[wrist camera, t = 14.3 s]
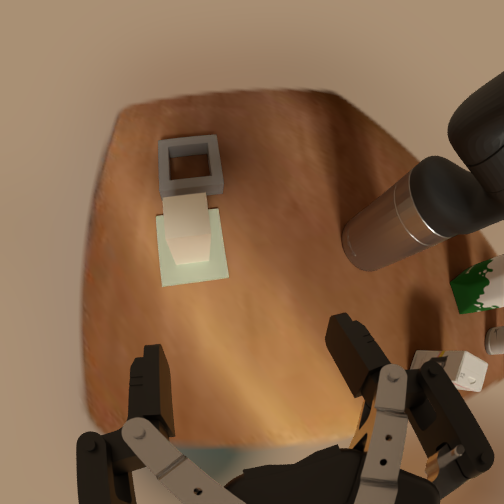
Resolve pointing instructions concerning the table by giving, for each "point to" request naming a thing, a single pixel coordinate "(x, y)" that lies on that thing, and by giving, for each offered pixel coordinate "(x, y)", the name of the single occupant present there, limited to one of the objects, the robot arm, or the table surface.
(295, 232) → the table surface
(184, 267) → the mat
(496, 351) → the travel mug
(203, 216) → the cream carton
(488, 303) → the milk carton
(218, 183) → the grey square frame
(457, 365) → the ink box
